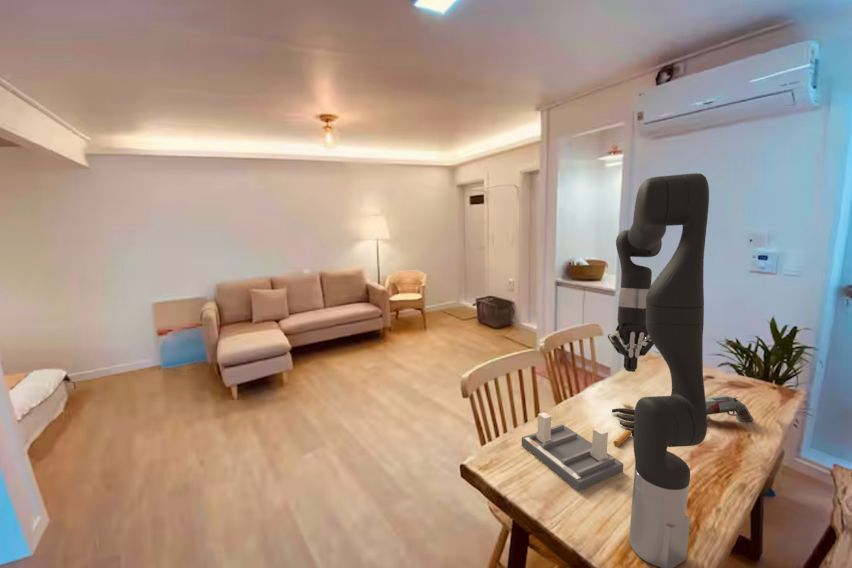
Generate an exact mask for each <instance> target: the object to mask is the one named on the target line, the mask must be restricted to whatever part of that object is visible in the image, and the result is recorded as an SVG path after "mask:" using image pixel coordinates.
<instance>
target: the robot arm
mask: <svg viewBox="0 0 852 568" xmlns="http://www.w3.org/2000/svg"><path fill="white" fill-rule="evenodd" d="M709 205H710V186H709V183H708V179H707V177H706V176H705V175H704V174H702V173H698V172H697V173H695V172H693V173H684V174H683V173H682V174H674V175H672V174H671V175H661V176H660V175H659V176H653V177H650V178H646V179H645V180H643V181H642V183H641V184H640V186H639V188H638V190H637V193H636V198H635V203H634V209H633V210H634V211H633V220H632V221H633V222H632V224H631V226H630V228H629V229H628V230H627V229H625V230H623V231H621V232H620V233H618V235H617V236H616V239H615V247H616V250H617V251H616V252H617V254H618V259H619V263H620V270H621V271H620V272H621V275H620V277H621V279H620V289H619V295H618V302H617V303H618V305H617V307H618V308H617V326H616V328H615V331H614V333H613V332H612V334H609V333H608V334H607V339H608V341H610V343H611V344H612V346H613V347H614V349H615V351H616V352H617V353H618V354H620V355H623V369H625V371H627V372H629V373H630V372H632V373H635V372H636V371H637V369H638V359H639V358H640V357H641V356H642V357H643V356H646V355H647V353H648V352H649V351H650V350H651V349H652V348H653V346H655V347H656V349H657V350H658V352H659V353H660V355H661V356H662V358H663V359H664V362H665V363H666V364H667V367H668V369H669V372H670V373H669V374H670V378H671V395H660V396H658V395H657V396H654V395H653V396H645V397H640V398H639V399H638V401H637V402H636V404H635V407H634V410H635V412H634V415H633V417H634V422H633V424H634V436H633V453H634V461H635V463H634V476H633V488H632V499H631V510H630V511H631V512H630V525H629V526H630V527H629V534H628V535H629V536H628V540H629V541H628V542H629V546H630V547H631V549H632V550H633V552H635V554H636V555H637V556H638V557H639V558H641V559H642V560H644V562H646V563H648V564H650V565H653V566H655V567H658V568H677V566H679V565H680V564H682V563H684V562H685V561H687V553H688V546H689V545H688V544H689V536H690V535H689V534H690V527H691V518H690V517H689V516H687V507H688V498H689V492H690V491H689V489H690V480H691V469H690V467H689V465H688V464H687V462H685V460H684V459H682V458H681V457H680V456H679V455H676V454H675V453H673V452H671V451H669V450H668V448H678V447H681V448H682V447H694V446H698V445H700V444H702V442H704V440H705V438H706V437H707V431H708V415H707V411H706V400H705V398H706V393H705V383H704V368H703V367H704V362H703V361H704V360H703V359H704V358H703V357H704V356H703V355H704V354H703V351H704V350H703V349H704V348H703V340H704V338H703V337H704V336H703V334H704V324H705V322H704V320H705V318H704V317H705V315H704V314H705V313H704V312H705V299H704V297H705V296H704V295H705V294H704V289H705V288H704V266H705V265H704V261H705V260H704V259H705V249H706V248H705V247H706V246H705V245H706V236H707V225H708V217H709V216H708V215H709ZM670 226H672V227H673V226H682V230H681V236H680V239H679V242H678V245H677V247H676V249H675V251H674V252H673V255H672V257H671V258H670V260H669V261H668V262H667V264H666V265H665V267H663V269H662V270H661V271H660V273H659V274H658V275H657V277H656V278H655V280H654V281H653V282H652V277H653V276H652V274H653V272H652V269H651V268H649V267H647V266H643V265H639V264H636V263H634V262H633V261H632V259H631V257H632V258H652V257H655V256H657V255H658V254H660V252H661V249H662V246H663V245H662V244H663V243H662V239H663V238H664V236H665V234H666V230H667V227H670Z"/></svg>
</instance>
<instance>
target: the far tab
mask: <svg viewBox="0 0 852 568" xmlns="http://www.w3.org/2000/svg"><path fill="white" fill-rule="evenodd" d="M551 427H552V416H551V415H550V414H548V413H546V412H545V411H544V412H540V413H537V435H536V438H537V439H538V440H539V441H541V442H542V443H546V442H549V441H551V439H550V436H551Z"/></svg>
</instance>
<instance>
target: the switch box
mask: <svg viewBox="0 0 852 568" xmlns="http://www.w3.org/2000/svg"><path fill="white" fill-rule="evenodd" d="M537 432H538V431H537ZM537 432H534V433H531V434H528V435H524V436H522V437H521V446H522V447H523V448H525V449H526V450H527V451H529V452H530V453H531V454H532V455H533V456H535V458H537V459H538V460H540V461H541V462H542V463H543V464H544V465H546V466H547V467H548V468H549V469H550V470H552V471H553V472H554V473H555V474H557V475H558V476H559V477H561V479H563V480H564V481H565V482H566V483H568V484H569V485H570V486H572V488H573V489H575V491H578V492H580V491H581V492H582V491H583V490H585V489H587V488H590V487H592V486H594V485H596V484H599V483H601V482H604V481H605V480H609V479H610V478H612V477H615V476H617V475H620V474H621V473H624V462H621V461H620V460H618V459H617V458H616V457H614V456H612V455H611V454H609V453H608V452H607V456H608V458H607V459H605V460H602V461H598V460H597V459H595V458H594V457H592V456H591V455H590V452H591V451H592V441H589V440H588V439H586V438H585V437H584V436H581V435H580V434H578V433H577V432H575V431H574V430H572V429H571V428H569V427H567V426H566V425H565V424H563V423H561V424H558V425H555V426H551V436H550V439H551V441H549V442H546V443H542V442H541V441H539V440H538V439H537V438H536V435H537Z"/></svg>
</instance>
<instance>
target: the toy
mask: <svg viewBox="0 0 852 568" xmlns="http://www.w3.org/2000/svg"><path fill="white" fill-rule="evenodd" d="M611 409H612V410H611V413H616V418H619V419H620V420H619V425H620V426H623V427H625V428H627V429H631V430H632V431H630V430H627V429H626V430H625V431H624V432H623V433H622V434H621V435H620V436H618V437H617V438H616V439H615V440H614V441H613V445H614V446H615V447H620V446H621V445H622V444H623V443H624V442H625V441H626V440H627V439H628V438H629V437H630V436H632V437H634V412H635V409H631V408H620V407H619V408H611ZM618 413H620V414H618ZM621 414H622V415H621ZM623 414H624V415H623ZM621 420H622V421H621ZM623 421H626V422H623ZM632 422H633V423H632Z"/></svg>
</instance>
